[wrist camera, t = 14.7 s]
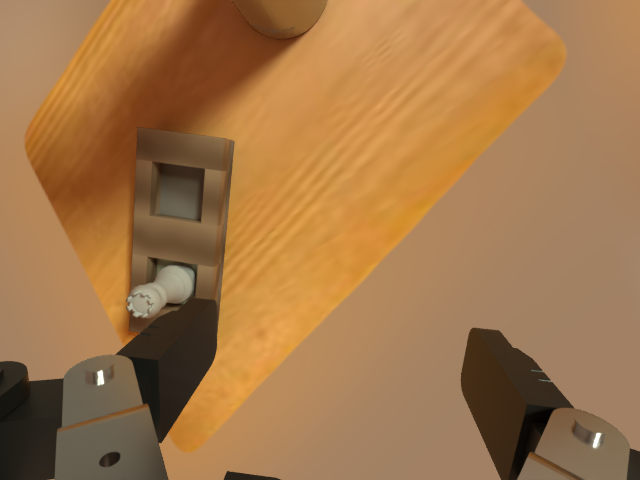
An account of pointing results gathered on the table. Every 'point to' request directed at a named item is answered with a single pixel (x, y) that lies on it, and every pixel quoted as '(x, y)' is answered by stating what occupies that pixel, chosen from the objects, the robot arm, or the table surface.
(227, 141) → the slot rail
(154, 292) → the rook chess piece
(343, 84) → the table surface
